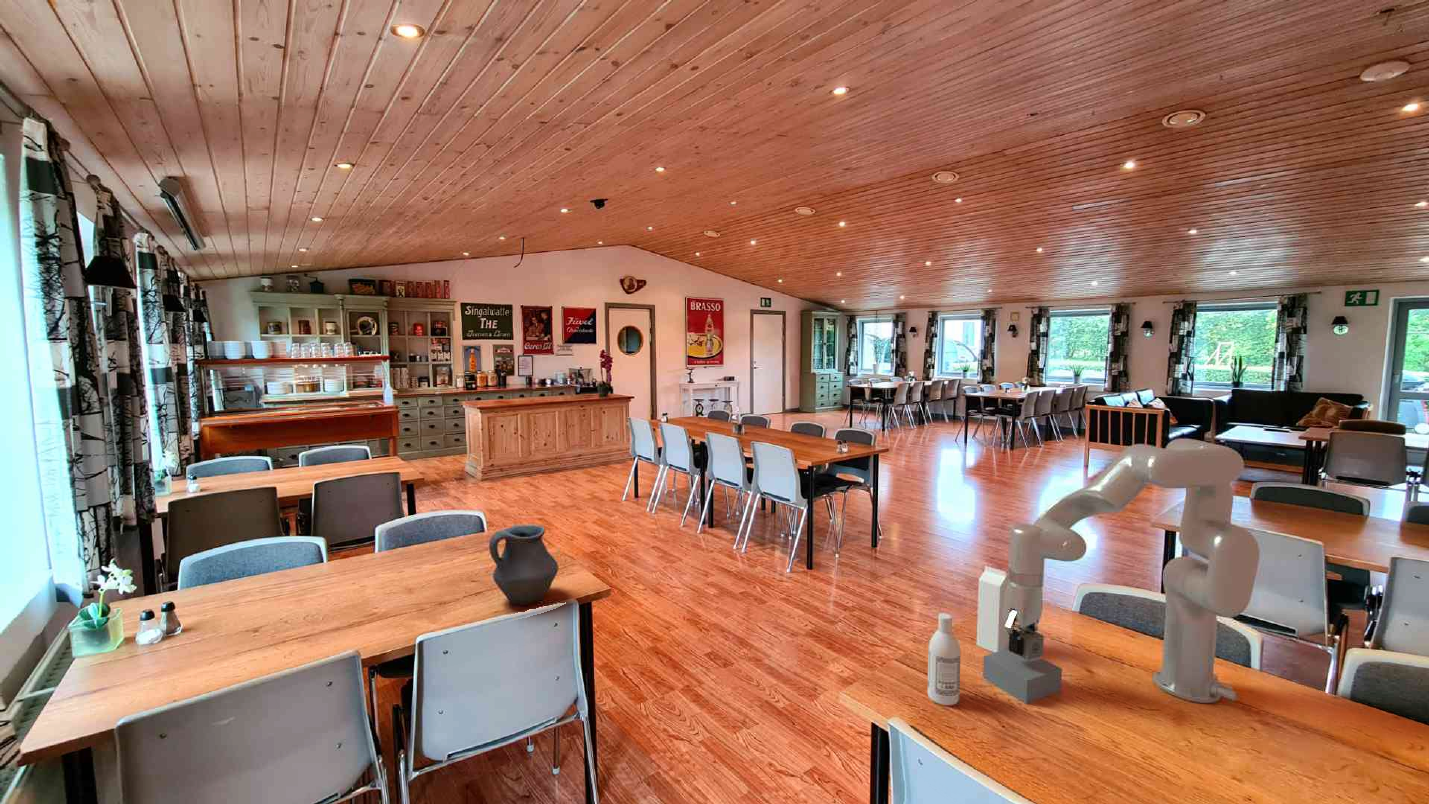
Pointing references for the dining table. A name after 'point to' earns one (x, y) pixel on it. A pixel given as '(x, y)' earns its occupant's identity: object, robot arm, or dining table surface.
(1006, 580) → the milk
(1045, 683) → the grey block
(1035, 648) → the dice cube
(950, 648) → the bath foam
